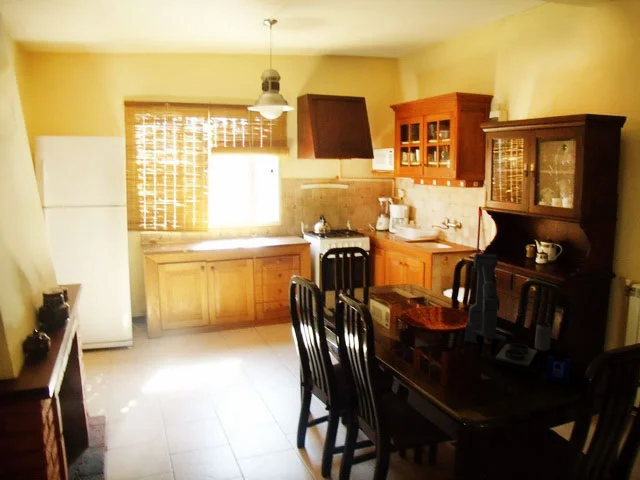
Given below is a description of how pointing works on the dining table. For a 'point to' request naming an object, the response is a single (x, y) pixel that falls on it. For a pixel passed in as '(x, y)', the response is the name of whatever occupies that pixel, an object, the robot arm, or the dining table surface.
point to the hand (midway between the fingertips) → (486, 353)
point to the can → (543, 336)
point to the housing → (517, 354)
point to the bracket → (558, 370)
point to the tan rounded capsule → (486, 350)
